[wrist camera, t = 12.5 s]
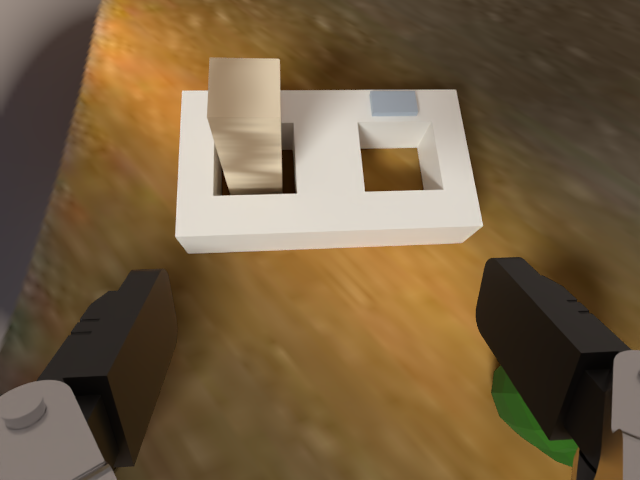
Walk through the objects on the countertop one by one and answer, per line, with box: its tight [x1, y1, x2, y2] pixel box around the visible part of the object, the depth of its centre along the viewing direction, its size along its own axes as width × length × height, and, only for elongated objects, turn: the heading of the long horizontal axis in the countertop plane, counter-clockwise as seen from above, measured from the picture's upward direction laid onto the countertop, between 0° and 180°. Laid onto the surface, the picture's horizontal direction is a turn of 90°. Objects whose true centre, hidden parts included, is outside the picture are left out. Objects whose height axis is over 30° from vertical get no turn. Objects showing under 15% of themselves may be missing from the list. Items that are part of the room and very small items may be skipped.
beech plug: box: [207, 58, 282, 195], centre depth 29 cm, size 4×4×12 cm
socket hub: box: [175, 90, 483, 254], centre depth 33 cm, size 22×12×4 cm, turn 93°
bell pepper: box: [491, 365, 578, 467], centre depth 26 cm, size 8×8×10 cm
